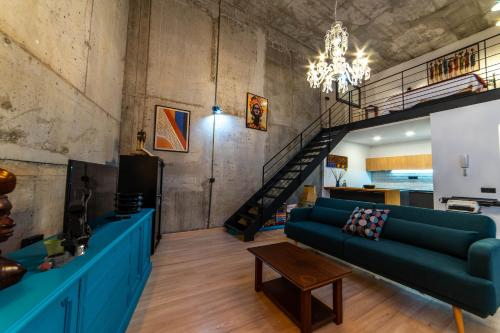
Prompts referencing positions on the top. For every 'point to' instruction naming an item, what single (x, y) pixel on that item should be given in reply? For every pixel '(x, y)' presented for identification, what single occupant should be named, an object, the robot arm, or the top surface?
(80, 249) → the coupling
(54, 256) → the valve body
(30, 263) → the top surface
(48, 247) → the plant pot
